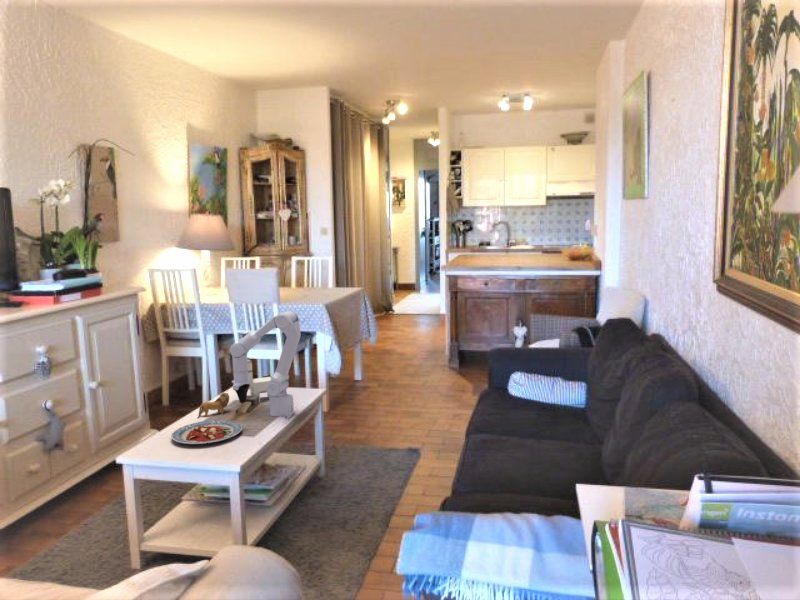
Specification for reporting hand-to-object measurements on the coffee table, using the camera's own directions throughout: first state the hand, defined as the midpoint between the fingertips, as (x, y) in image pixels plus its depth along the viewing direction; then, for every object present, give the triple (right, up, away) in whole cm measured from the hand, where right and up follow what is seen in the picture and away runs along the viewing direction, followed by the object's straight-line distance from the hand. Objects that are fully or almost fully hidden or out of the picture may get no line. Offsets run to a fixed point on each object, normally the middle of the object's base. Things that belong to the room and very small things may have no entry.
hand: (242, 402), depth 260 cm
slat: (+1, -4, +4) cm, 6 cm away
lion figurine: (-12, -6, -1) cm, 13 cm away
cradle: (0, -5, +1) cm, 5 cm away
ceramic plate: (-7, -9, -25) cm, 28 cm away
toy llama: (+4, -3, +17) cm, 18 cm away
